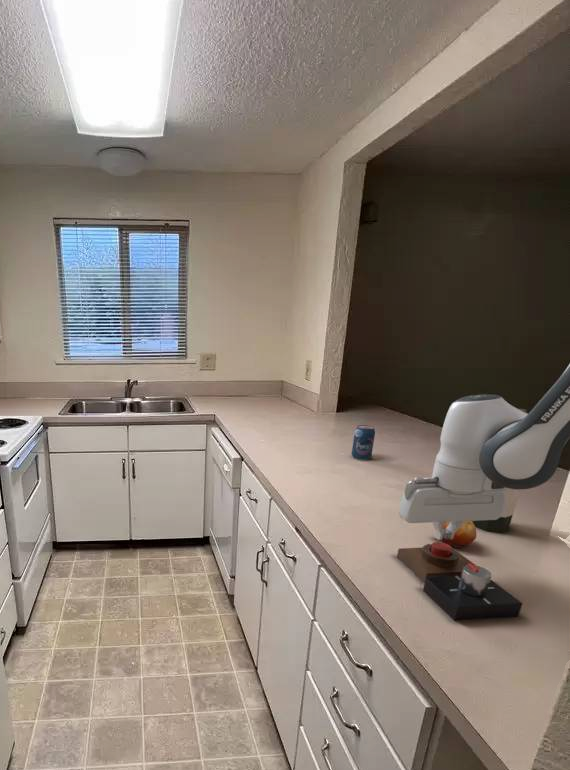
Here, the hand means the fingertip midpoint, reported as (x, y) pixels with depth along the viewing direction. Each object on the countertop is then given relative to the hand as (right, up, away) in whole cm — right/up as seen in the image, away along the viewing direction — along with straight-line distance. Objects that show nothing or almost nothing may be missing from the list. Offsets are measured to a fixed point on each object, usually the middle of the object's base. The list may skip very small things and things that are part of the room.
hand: (443, 538), depth 90 cm
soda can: (+16, +20, +74) cm, 78 cm away
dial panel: (-1, -11, -9) cm, 14 cm away
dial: (-1, -8, -10) cm, 13 cm away
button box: (0, -7, +3) cm, 7 cm away
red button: (0, -3, +1) cm, 4 cm away
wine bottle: (+25, 0, +21) cm, 33 cm away
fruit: (+11, -3, +13) cm, 17 cm away
